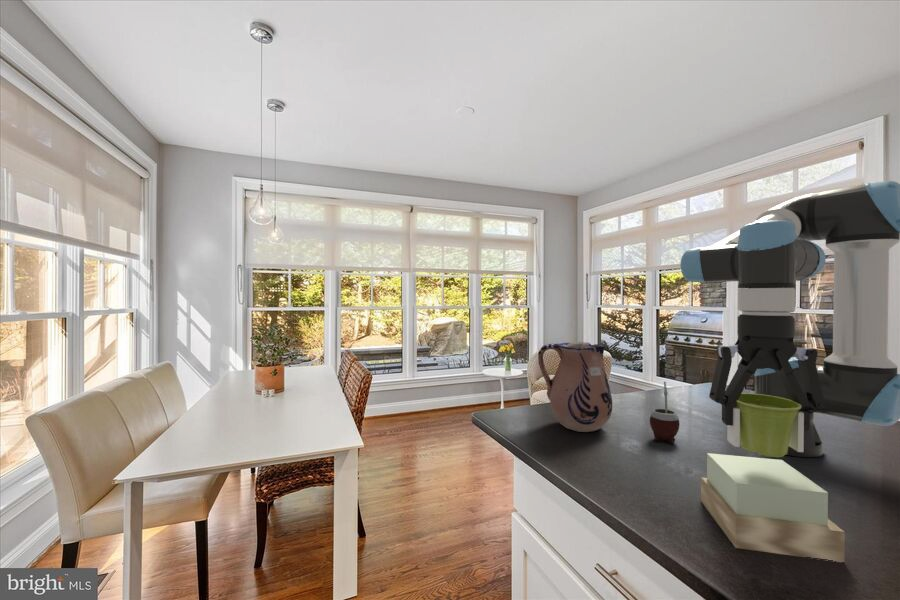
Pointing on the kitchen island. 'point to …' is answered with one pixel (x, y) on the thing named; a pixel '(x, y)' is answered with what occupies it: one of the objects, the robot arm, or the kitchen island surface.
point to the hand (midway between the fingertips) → (763, 446)
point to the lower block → (774, 531)
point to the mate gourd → (664, 423)
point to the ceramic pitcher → (578, 386)
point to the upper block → (767, 489)
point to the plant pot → (766, 423)
